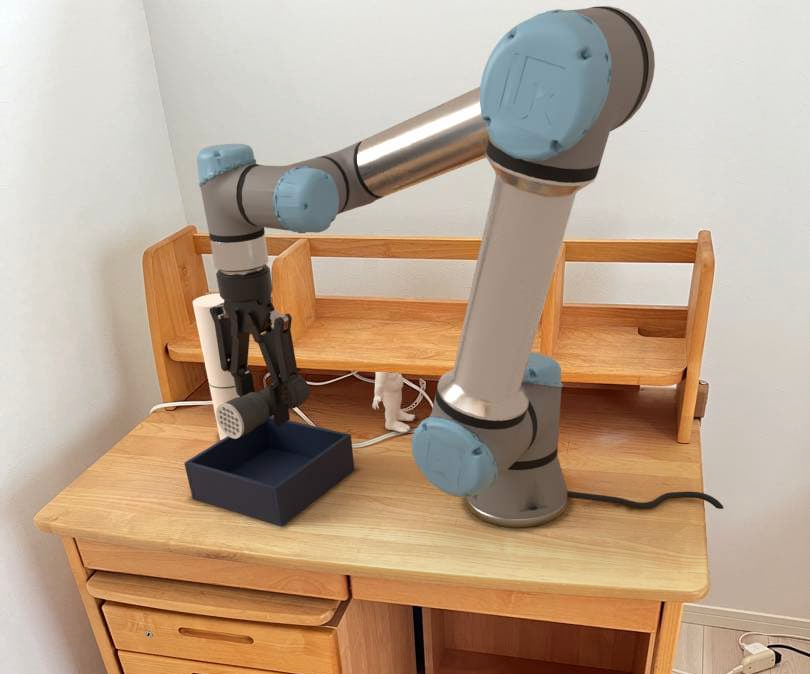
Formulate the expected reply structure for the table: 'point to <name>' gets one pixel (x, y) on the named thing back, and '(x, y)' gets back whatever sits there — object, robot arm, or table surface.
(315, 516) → the table surface
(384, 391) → the toy creature
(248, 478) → the bin
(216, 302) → the cylindrical container
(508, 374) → the robot arm
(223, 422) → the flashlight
